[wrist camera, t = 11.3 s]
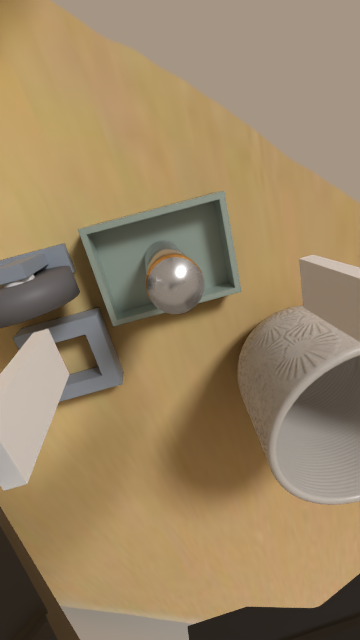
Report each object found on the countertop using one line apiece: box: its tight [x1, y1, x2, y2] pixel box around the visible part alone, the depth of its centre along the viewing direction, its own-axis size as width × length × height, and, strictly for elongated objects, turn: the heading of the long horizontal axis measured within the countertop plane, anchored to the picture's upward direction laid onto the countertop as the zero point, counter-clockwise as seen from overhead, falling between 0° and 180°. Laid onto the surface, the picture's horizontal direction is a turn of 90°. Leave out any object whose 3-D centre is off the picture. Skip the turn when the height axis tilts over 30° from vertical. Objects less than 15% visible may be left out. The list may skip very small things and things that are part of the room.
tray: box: [78, 191, 241, 327], centre depth 31 cm, size 14×10×3 cm
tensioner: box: [0, 243, 124, 402], centre depth 29 cm, size 9×17×10 cm, turn 14°
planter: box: [238, 306, 360, 505], centre depth 32 cm, size 17×17×15 cm
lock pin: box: [145, 240, 204, 314], centre depth 26 cm, size 4×4×12 cm
